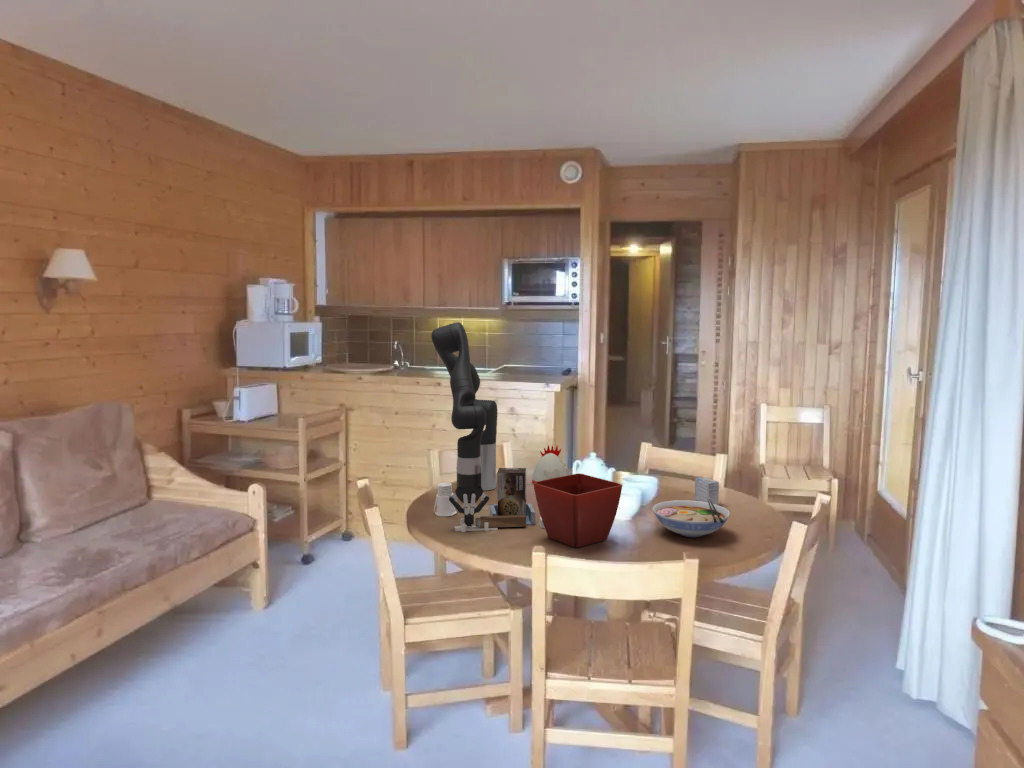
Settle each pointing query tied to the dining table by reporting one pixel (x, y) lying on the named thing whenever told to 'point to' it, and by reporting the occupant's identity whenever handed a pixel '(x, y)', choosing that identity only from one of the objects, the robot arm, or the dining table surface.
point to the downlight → (444, 500)
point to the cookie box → (511, 491)
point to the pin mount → (474, 528)
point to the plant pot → (577, 508)
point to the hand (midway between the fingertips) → (469, 525)
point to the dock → (529, 511)
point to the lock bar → (501, 521)
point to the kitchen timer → (549, 466)
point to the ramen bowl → (691, 517)
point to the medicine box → (706, 490)
